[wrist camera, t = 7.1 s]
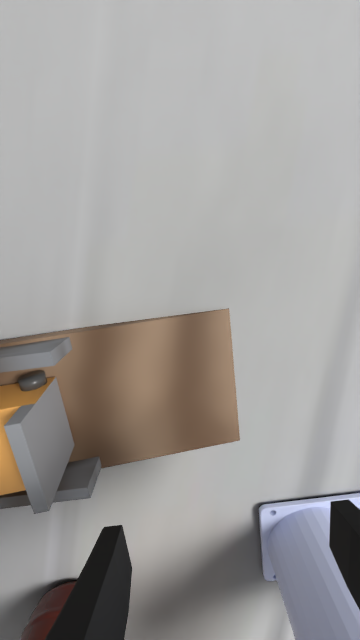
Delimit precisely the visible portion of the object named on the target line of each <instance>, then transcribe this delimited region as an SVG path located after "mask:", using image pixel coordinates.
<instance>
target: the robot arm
mask: <svg viewBox="0 0 360 640" xmlns="http://www.w3.org/2000/svg"><path fill="white" fill-rule="evenodd" d="M259 521H260V536H261V551H262V567H263V575H264V579H265V580H266V581H277V582H278V585H279V589H280V592H281V595H282V598H283V601H284V605H285V608H286V611H287V614H288V617H289V621H290V624H291V627H292V630H293V633H294V637H295V640H360V493H355V494H347V495H339V496H330V497H322V498H314V499H305V500H297V501H288V502H280V503H272V504H264V505H262V506H260V508H259ZM131 575H132V566H131V561H130V557H129V553H128V548H127V544H126V540H125V536H124V531H123V527H122V525H118V526H109V527H104V528H103V529H102V531H101V533H100V535H99V538H98V540H97V542H96V544H95V546H94V548H93V550H92V552H91V554H90V556H89V558H88V560H87V562H86V564H85V566H84V568H83V570H82V572H81V574H80V576H79V578H78V580H77V582H76V584H75V585H74V587H73V589H72V591H71V593H70V595H69V597H68V598H67V600H66V602H65V604H64V606H63V608H62V609H61V611H60V613H59V615H58V617H57V619H56V620H55V622H54V624H53V626H52V627H51V629H50V631H49V633H48V634H47V636H46V638H45V639H44V640H124V635H125V629H126V623H127V617H128V610H129V599H130V587H131Z"/></svg>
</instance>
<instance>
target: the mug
mask: <svg viewBox="0 0 360 640" xmlns="http://www.w3.org/2000/svg"><path fill="white" fill-rule="evenodd" d="M76 582H77V581H71V582H66V583H63V584H61V585H58V586H57V587H55V588H53V589H51V590H50V591H48V592H47V593H46V594H45V595H44V596H43V597H42V598H41V600H40V601H39V603H38V605H37V607H36V608H35V610H34V611H33V613H32V615H31V616H30V619H29V622H28V624H27V626H26V627H25V629H24V631H23V633H22V635H21V640H44V639H45V638H46V636H47V634H48V633H49V631H50V629H51V627H52V626H53V624H54V622H55V620H56V619H57V617H58V615H59V613H60V611H61V609H62V608H63V606H64V604H65V602H66V600H67V598H68V597H69V595H70V593H71V591H72V589H73V587H74V585H75V584H76Z"/></svg>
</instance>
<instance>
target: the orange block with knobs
mask: <svg viewBox="0 0 360 640" xmlns="http://www.w3.org/2000/svg"><path fill="white" fill-rule="evenodd" d="M74 445H75V444H74V441H73V437H72V433H71V430H70V426H69V423H68V419H67V415H66V412H65V408H64V404H63V401H62V397H61V393H60V390H59V386H58V382H57V379H56V377H51V378H46V374H45V371H43V370H37V371H32V372H29V373H26V374H24V375H22V376H21V377H19V378H18V383H16V384H10V385H4V386H0V495H4V494H9V493H14V492H19V491H24V490H26V492H27V494H28V497H29V500H30V503H31V506H32V509H33V512H34V514H36V513H41V512H46V511H49V510H50V507H51V504H52V502H53V499H54V497H55V494H56V492H57V489H58V486H59V484H60V481H61V479H62V476H63V474H64V471H65V468H66V466H67V464H68V462H69V458H70V456H71V453H72V450H73V448H74Z"/></svg>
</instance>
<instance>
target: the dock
mask: <svg viewBox="0 0 360 640" xmlns="http://www.w3.org/2000/svg"><path fill="white" fill-rule="evenodd" d="M37 370H43V371H45V374H46V378H51V377H56V379H57V382H58V386H59V390H60V393H61V397H62V401H63V404H64V408H65V412H66V415H67V419H68V423H69V426H70V430H71V433H72V437H73V441H74V444H75V445H74V448H73V450H72V453H71V456H70V458H69V462H68V464H67V466H66V468H65V471H64V474H63V476H62V479H61V481H60V484H59V486H58V489H57V492H56V494H55V497H54V499H53V502H61V501H69V500H77V499H86V498H91V495H92V492H93V489H94V486H95V483H96V480H97V477H98V475H99V472H100V469H101V468H105V467H110V466H115V465H120V464H125V463H130V462H135V461H140V460H145V459H150V458H155V457H160V456H164V455H169V454H174V453H179V452H184V451H189V450H194V449H199V448H204V447H209V446H214V445H219V444H224V443H229V442H234V441H239V440H240V437H239V425H238V412H237V400H236V388H235V376H234V364H233V352H232V340H231V327H230V315H229V309H222V310H214V311H207V312H199V313H191V314H184V315H176V316H168V317H160V318H153V319H145V320H137V321H130V322H122V323H114V324H107V325H99V326H91V327H84V328H78V329H71V330H65V331H58V332H52V333H45V334H39V335H32V336H26V337H19V338H13V339H6V340H0V386H4V385H10V384H16V383H18V378H19V377H21V376H22V375H24V374H26V373H29V372H32V371H37ZM53 502H52V503H53ZM28 505H31V503H30V500H29V497H28V494H27V492H26V490H24V491H19V492H14V493H9V494H4V495H0V509H3V508H11V507H20V506H28Z"/></svg>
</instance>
